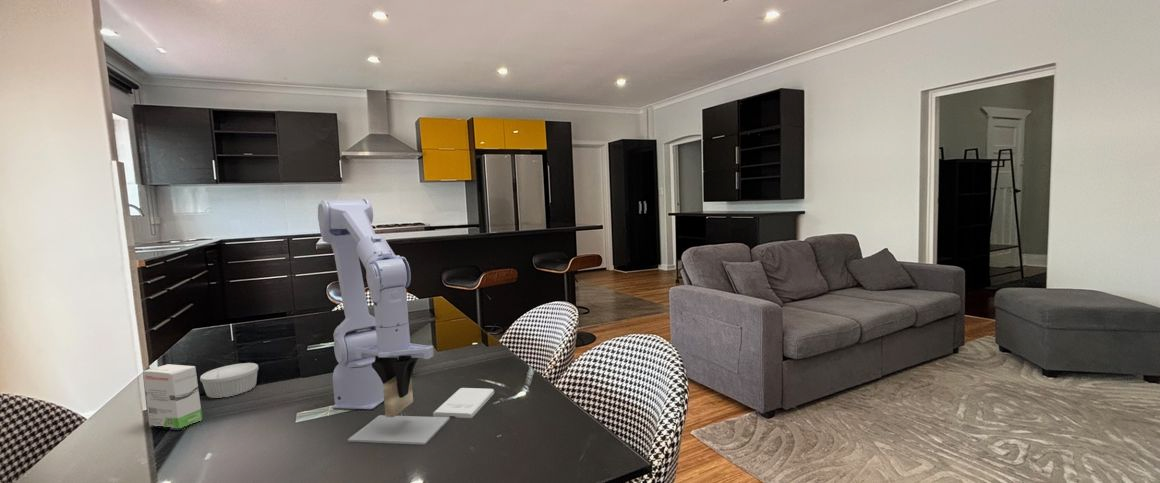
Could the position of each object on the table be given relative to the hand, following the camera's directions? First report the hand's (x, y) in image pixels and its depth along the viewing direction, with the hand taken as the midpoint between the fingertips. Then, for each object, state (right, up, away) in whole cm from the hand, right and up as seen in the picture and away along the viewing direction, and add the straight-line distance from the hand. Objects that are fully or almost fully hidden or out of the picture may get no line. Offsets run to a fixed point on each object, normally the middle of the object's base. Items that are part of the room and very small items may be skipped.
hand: (398, 395), depth 91 cm
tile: (0, -3, 0) cm, 3 cm away
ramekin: (-49, -7, +25) cm, 56 cm away
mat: (0, -7, +1) cm, 7 cm away
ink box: (-48, -9, +8) cm, 49 cm away
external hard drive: (+10, -6, +11) cm, 16 cm away
